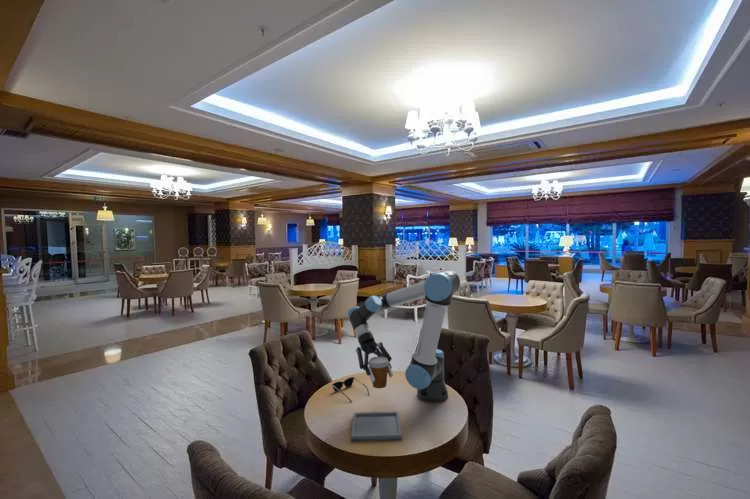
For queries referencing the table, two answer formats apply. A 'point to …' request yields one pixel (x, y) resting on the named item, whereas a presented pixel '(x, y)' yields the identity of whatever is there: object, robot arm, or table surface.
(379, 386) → the disposable coffee cup
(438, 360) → the robot arm
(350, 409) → the table surface
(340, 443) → the table surface
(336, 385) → the sunglasses
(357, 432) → the serving tray
